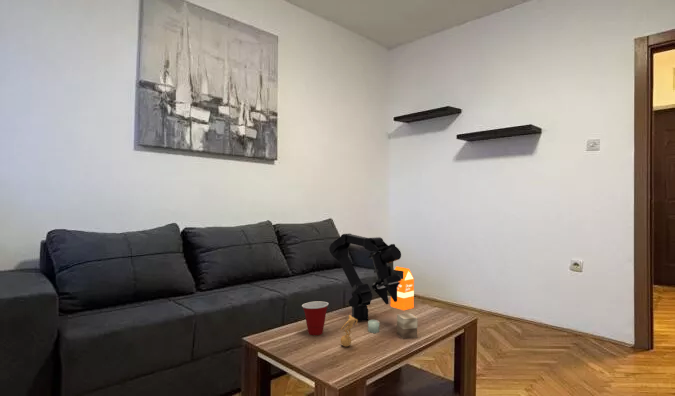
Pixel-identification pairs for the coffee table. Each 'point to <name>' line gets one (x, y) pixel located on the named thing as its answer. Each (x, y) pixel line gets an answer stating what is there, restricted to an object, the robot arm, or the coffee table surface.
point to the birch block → (407, 321)
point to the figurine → (346, 339)
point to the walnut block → (407, 332)
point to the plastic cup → (315, 316)
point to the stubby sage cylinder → (373, 326)
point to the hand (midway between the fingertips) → (391, 303)
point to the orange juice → (404, 291)
